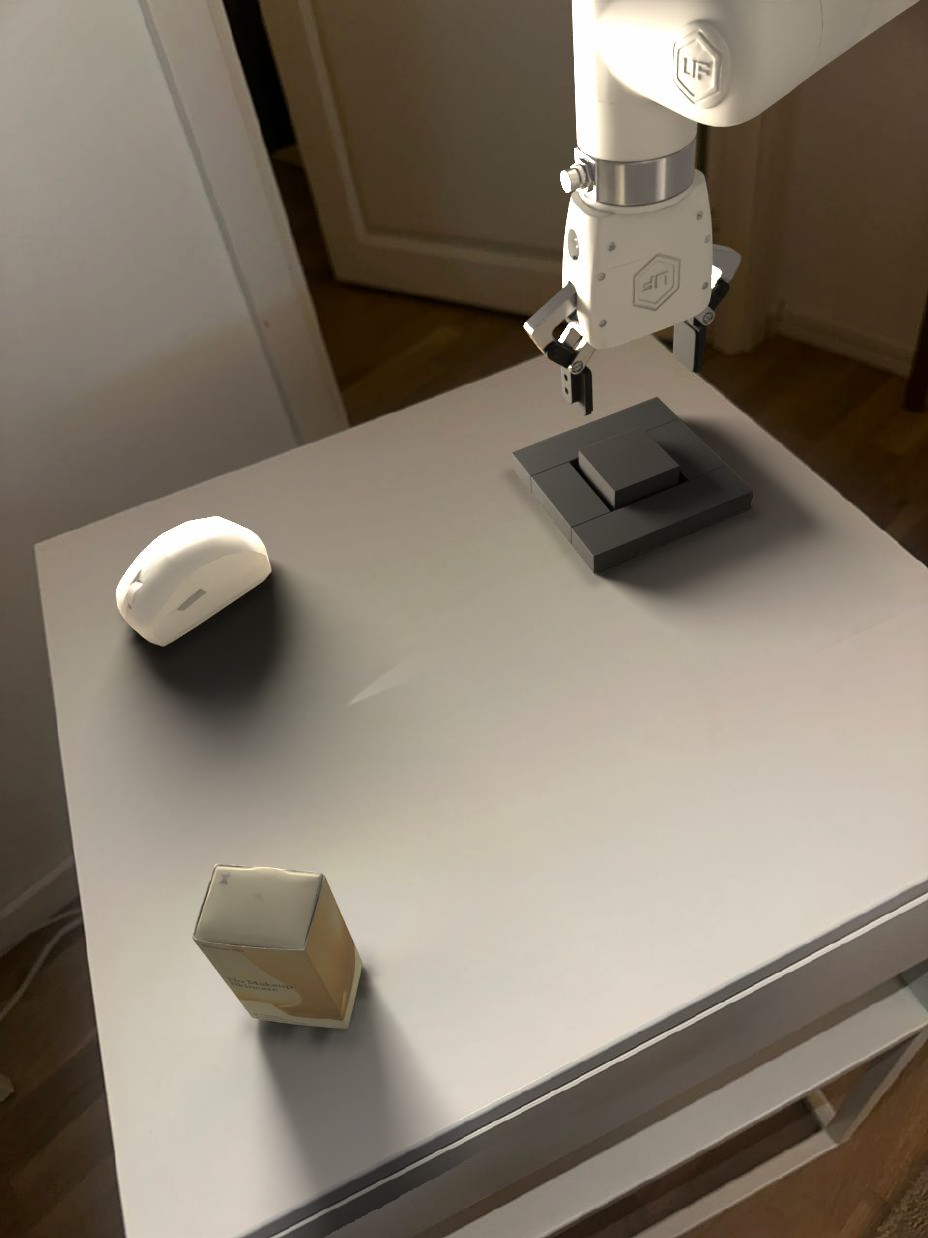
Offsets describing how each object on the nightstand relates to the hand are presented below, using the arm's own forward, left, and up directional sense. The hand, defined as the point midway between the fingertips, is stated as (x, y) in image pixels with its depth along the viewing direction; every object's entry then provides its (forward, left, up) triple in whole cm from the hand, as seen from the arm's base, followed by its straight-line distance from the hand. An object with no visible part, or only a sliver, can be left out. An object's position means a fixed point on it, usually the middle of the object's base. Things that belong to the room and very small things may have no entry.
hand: (633, 384), depth 75 cm
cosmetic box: (+39, +29, -11) cm, 50 cm away
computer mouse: (+37, -8, -11) cm, 40 cm away
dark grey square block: (0, 0, -11) cm, 11 cm away
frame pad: (0, 0, -11) cm, 11 cm away
